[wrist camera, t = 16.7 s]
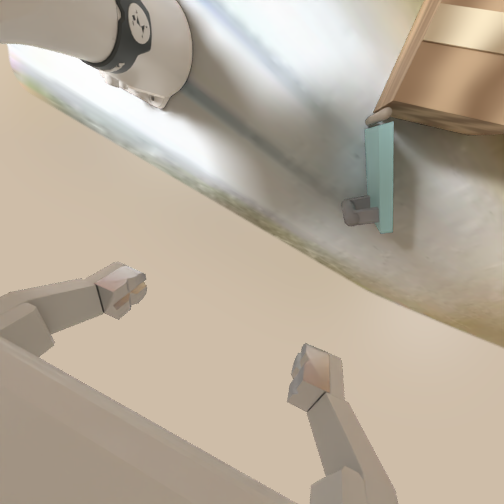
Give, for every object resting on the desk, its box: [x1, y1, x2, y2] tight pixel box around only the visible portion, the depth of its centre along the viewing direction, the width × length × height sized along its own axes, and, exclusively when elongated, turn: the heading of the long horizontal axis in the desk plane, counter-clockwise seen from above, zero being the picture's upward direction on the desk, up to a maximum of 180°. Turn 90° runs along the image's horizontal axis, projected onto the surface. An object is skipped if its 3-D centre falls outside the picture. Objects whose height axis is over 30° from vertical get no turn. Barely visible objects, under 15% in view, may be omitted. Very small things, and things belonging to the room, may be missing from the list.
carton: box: [373, 0, 504, 135], centre depth 23 cm, size 14×12×12 cm
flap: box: [341, 107, 394, 234], centre depth 32 cm, size 16×6×11 cm, turn 16°
